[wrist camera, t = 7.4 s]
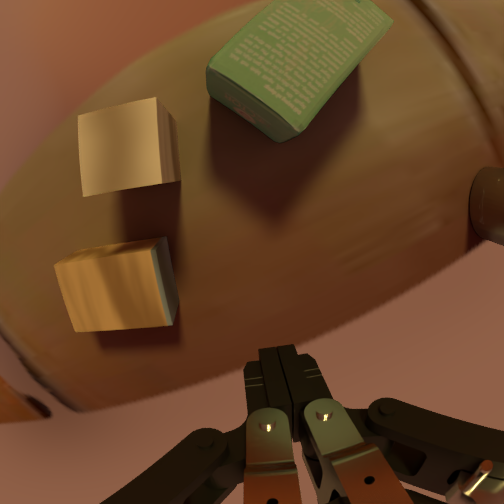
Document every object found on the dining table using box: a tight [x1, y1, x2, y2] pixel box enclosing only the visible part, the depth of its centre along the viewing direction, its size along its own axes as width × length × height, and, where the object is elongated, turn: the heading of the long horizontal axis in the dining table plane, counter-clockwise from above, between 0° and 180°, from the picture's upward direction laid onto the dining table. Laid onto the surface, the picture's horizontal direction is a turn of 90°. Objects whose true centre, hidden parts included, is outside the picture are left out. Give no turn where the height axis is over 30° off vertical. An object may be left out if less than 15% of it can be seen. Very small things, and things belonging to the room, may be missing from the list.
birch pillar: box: [78, 97, 181, 197], centre depth 18 cm, size 5×5×8 cm
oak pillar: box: [54, 236, 179, 332], centre depth 22 cm, size 4×6×9 cm
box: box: [206, 0, 394, 143], centre depth 18 cm, size 7×14×8 cm, turn 143°
